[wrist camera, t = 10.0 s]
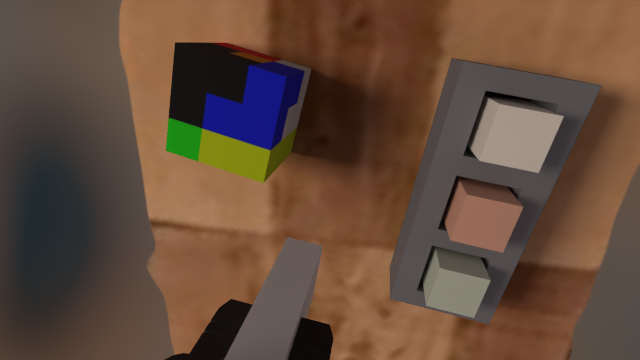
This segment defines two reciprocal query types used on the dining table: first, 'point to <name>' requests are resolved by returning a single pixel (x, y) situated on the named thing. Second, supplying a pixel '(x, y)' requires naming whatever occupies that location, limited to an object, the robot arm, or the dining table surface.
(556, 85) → the console
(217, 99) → the puzzle toy
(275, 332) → the robot arm
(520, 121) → the key ivory
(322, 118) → the dining table surface
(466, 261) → the key sage
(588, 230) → the dining table surface
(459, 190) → the key terracotta
